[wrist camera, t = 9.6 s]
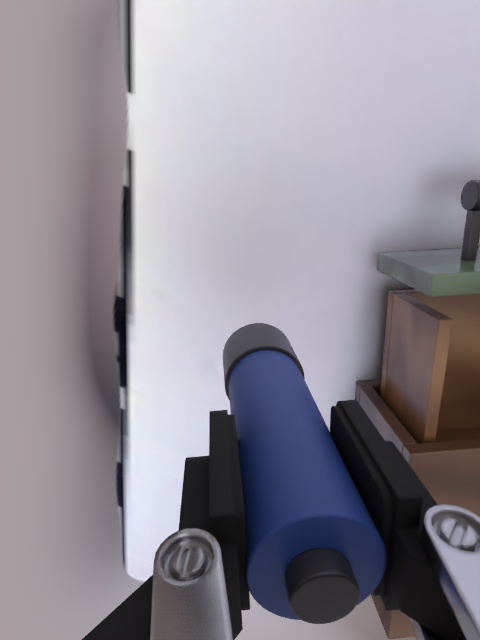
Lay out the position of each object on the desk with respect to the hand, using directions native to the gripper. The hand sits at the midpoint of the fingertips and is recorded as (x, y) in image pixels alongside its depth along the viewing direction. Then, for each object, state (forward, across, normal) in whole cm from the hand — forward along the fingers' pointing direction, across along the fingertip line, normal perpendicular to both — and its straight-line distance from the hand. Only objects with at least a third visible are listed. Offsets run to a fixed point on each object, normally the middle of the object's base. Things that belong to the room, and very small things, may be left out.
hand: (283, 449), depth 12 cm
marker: (+7, 0, 0) cm, 7 cm away
